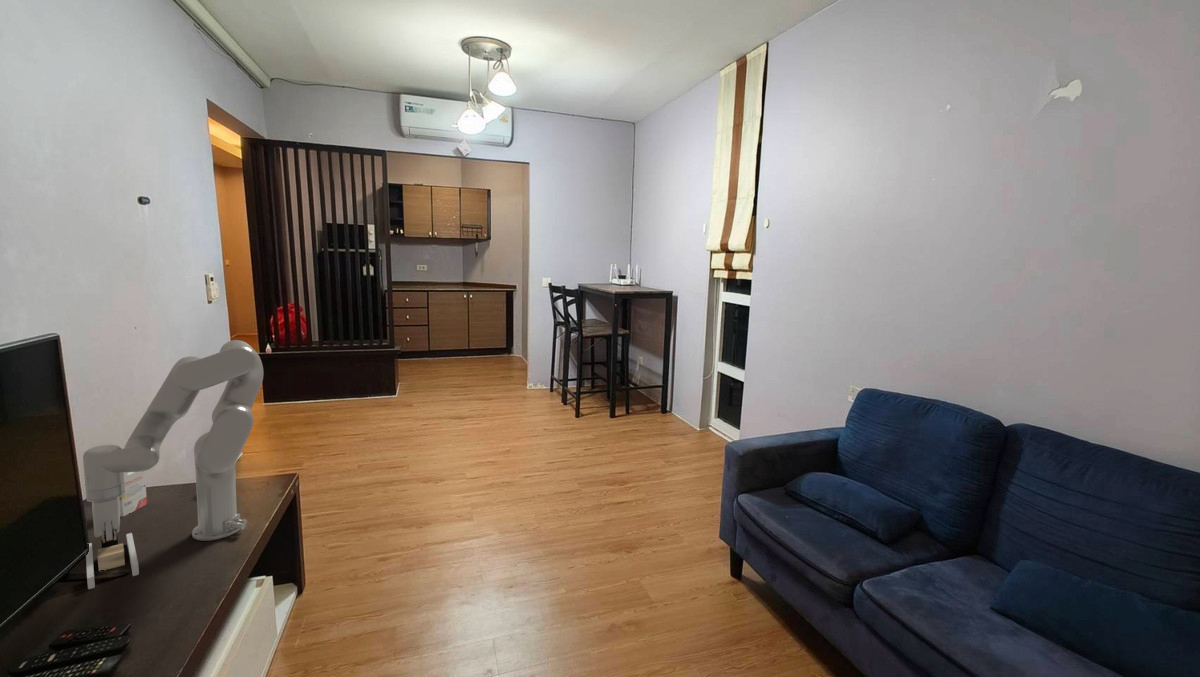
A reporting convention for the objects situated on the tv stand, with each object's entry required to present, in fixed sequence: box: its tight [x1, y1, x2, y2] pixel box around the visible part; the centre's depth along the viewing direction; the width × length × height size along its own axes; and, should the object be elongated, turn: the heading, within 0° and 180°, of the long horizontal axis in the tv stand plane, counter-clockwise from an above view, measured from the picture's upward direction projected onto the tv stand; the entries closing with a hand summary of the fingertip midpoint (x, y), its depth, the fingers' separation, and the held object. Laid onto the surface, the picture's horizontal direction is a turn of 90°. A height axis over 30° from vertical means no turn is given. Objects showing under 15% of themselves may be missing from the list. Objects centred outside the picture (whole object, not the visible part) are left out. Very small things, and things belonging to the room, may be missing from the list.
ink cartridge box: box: [119, 471, 148, 518], centre depth 160 cm, size 9×5×15 cm, turn 179°
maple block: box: [97, 543, 126, 572], centre depth 134 cm, size 5×5×4 cm
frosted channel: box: [85, 532, 140, 590], centre depth 134 cm, size 20×9×3 cm, turn 47°
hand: (110, 552), depth 137 cm, fingers closed
